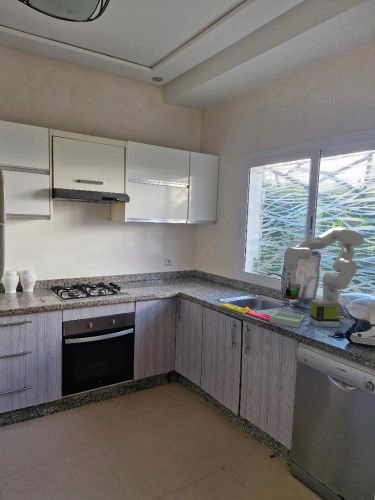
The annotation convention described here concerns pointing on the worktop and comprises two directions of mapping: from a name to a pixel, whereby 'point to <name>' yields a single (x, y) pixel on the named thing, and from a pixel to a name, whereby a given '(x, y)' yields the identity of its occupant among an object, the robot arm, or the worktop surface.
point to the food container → (292, 291)
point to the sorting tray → (287, 319)
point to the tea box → (325, 313)
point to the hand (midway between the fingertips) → (289, 294)
